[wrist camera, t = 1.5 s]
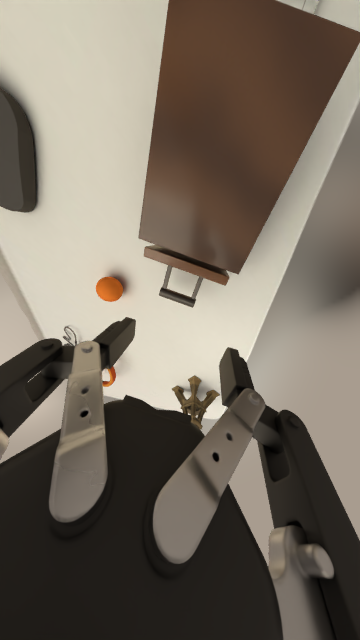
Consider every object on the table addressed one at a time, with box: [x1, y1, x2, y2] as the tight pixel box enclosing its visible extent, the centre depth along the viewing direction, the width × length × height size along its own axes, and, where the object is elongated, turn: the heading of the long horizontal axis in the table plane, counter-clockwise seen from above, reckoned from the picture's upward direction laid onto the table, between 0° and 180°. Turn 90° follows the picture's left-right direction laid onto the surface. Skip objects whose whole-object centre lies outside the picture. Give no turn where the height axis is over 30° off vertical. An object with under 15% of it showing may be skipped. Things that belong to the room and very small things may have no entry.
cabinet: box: [139, 0, 360, 274], centre depth 17 cm, size 16×13×10 cm
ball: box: [96, 277, 123, 302], centre depth 30 cm, size 5×5×5 cm
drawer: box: [144, 245, 229, 307], centre depth 20 cm, size 20×12×8 cm, turn 163°
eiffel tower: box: [172, 376, 219, 429], centre depth 35 cm, size 11×11×25 cm
